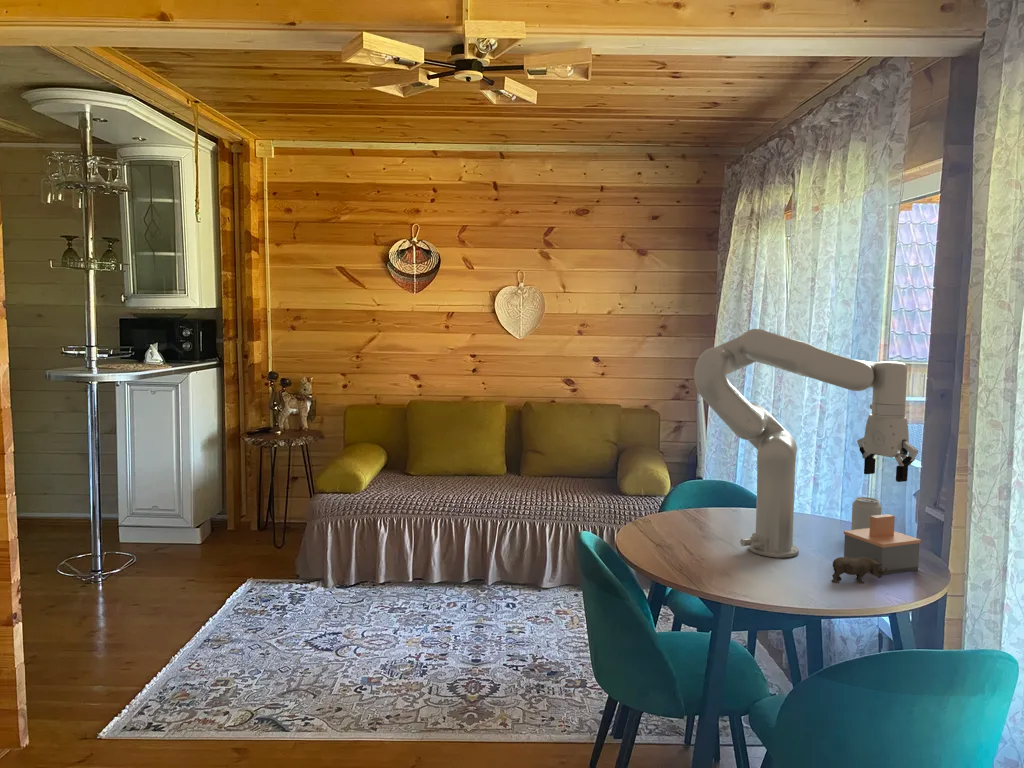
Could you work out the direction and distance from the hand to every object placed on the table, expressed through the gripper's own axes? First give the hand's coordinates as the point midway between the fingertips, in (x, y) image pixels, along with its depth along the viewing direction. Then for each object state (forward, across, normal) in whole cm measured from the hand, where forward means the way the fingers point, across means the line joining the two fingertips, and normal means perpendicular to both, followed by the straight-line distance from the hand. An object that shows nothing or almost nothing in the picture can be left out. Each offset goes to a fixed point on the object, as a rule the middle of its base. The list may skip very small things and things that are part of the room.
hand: (885, 477), depth 185 cm
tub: (+22, +1, -1) cm, 23 cm away
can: (+23, -17, +14) cm, 32 cm away
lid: (+16, +1, -1) cm, 17 cm away
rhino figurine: (+23, +8, -15) cm, 29 cm away
